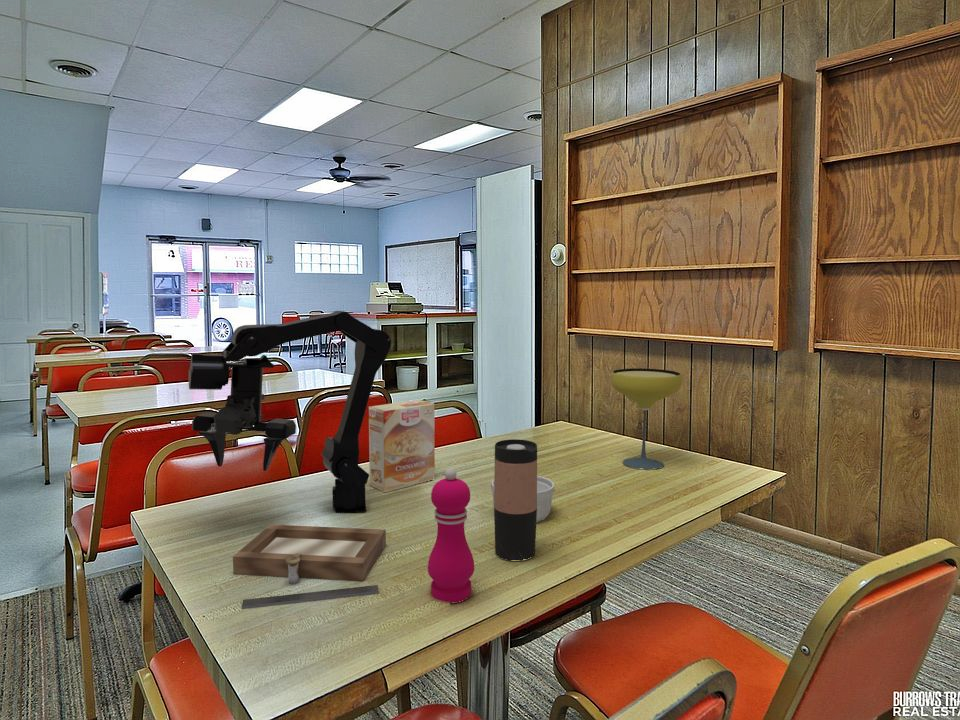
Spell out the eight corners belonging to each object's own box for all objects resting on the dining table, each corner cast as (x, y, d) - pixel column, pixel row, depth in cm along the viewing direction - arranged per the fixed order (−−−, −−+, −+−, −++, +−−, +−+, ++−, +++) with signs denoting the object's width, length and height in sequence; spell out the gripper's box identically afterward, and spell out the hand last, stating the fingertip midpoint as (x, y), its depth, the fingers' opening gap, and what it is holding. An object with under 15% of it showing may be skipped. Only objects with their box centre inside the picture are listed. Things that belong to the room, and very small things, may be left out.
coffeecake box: (384, 493, 144) (383, 410, 141) (368, 485, 149) (367, 406, 147) (436, 480, 153) (435, 402, 151) (419, 473, 159) (418, 398, 156)
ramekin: (559, 508, 134) (560, 476, 133) (545, 530, 122) (546, 496, 121) (501, 501, 139) (501, 470, 138) (482, 522, 126) (482, 488, 125)
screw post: (299, 581, 100) (298, 560, 100) (298, 585, 99) (298, 565, 98) (289, 582, 100) (288, 561, 100) (288, 587, 98) (287, 566, 98)
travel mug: (491, 545, 115) (492, 439, 112) (532, 543, 115) (533, 438, 113) (496, 563, 107) (496, 450, 105) (539, 561, 108) (541, 449, 105)
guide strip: (377, 589, 98) (377, 584, 98) (378, 595, 96) (378, 590, 96) (243, 604, 93) (243, 599, 93) (241, 611, 91) (241, 606, 91)
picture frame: (385, 545, 113) (385, 525, 113) (358, 588, 97) (357, 565, 97) (271, 539, 116) (270, 520, 115) (225, 581, 100) (224, 558, 99)
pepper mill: (447, 578, 101) (446, 459, 99) (483, 591, 97) (483, 467, 95) (418, 596, 95) (416, 470, 93) (455, 610, 91) (455, 479, 89)
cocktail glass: (689, 463, 168) (693, 372, 165) (659, 478, 155) (663, 379, 152) (629, 451, 180) (631, 366, 177) (596, 465, 166) (598, 373, 164)
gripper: (177, 390, 113) (174, 474, 114) (276, 399, 112) (272, 483, 113) (208, 384, 124) (205, 460, 126) (298, 392, 123) (294, 468, 124)
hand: (242, 468), depth 122 cm, fingers open, 9 cm apart
